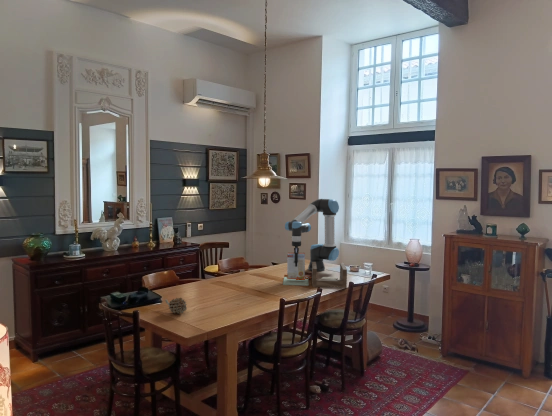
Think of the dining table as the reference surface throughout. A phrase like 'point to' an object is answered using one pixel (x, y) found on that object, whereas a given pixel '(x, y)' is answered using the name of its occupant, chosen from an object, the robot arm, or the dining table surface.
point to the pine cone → (177, 305)
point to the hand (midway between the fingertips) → (296, 269)
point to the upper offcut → (328, 278)
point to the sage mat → (295, 282)
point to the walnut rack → (330, 283)
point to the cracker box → (290, 266)
